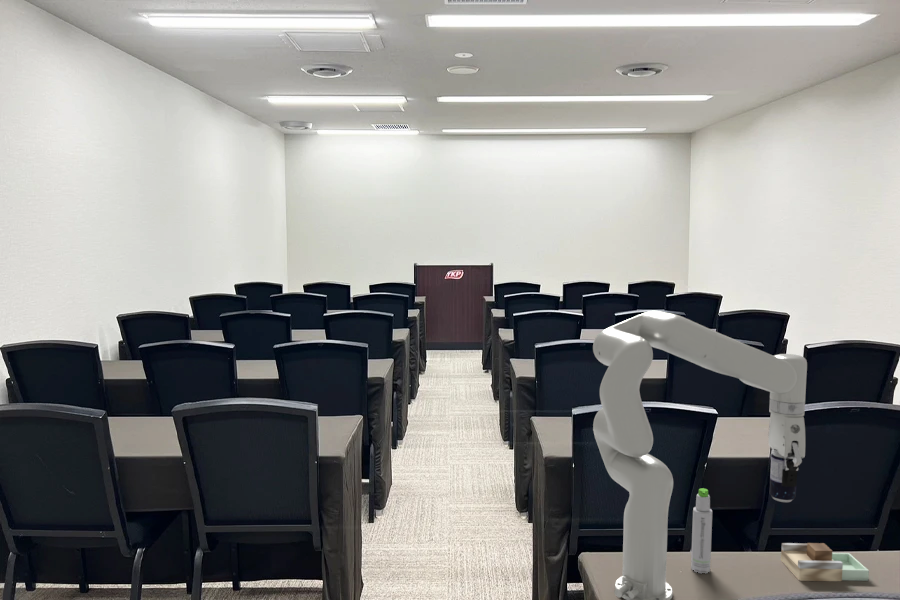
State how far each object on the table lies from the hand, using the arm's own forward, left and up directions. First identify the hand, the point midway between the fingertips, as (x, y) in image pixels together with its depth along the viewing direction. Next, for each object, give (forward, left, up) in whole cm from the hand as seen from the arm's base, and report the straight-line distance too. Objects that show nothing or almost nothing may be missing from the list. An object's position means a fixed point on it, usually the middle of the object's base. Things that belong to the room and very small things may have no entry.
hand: (783, 480), depth 168 cm
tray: (+10, -12, -22) cm, 27 cm away
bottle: (-13, +14, -23) cm, 29 cm away
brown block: (+6, -7, -19) cm, 22 cm away
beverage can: (0, 0, -5) cm, 5 cm away
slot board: (+5, -6, -22) cm, 24 cm away
